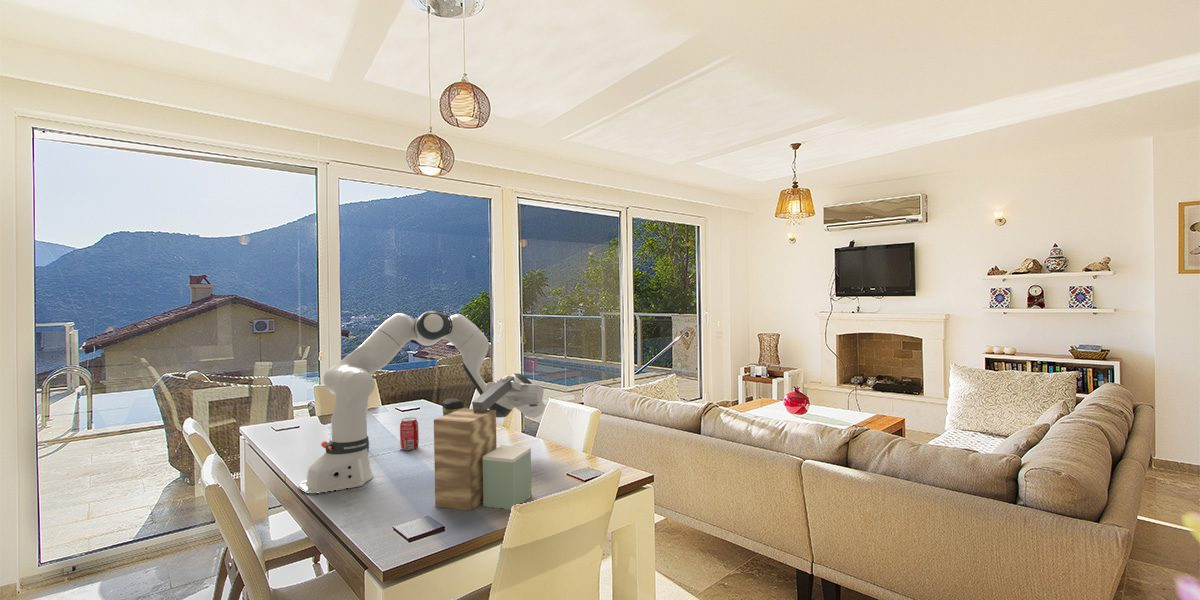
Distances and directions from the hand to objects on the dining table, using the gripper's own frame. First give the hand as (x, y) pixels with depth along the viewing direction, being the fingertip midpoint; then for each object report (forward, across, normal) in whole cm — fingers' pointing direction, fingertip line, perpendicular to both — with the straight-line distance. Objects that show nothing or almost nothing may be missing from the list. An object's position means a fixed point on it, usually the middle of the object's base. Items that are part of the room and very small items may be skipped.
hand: (504, 382), depth 191 cm
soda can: (-33, -54, +19) cm, 66 cm away
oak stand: (+2, -2, +39) cm, 39 cm away
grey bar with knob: (+4, 0, +7) cm, 8 cm away
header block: (+1, +11, +38) cm, 39 cm away
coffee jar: (-44, -41, +13) cm, 61 cm away
